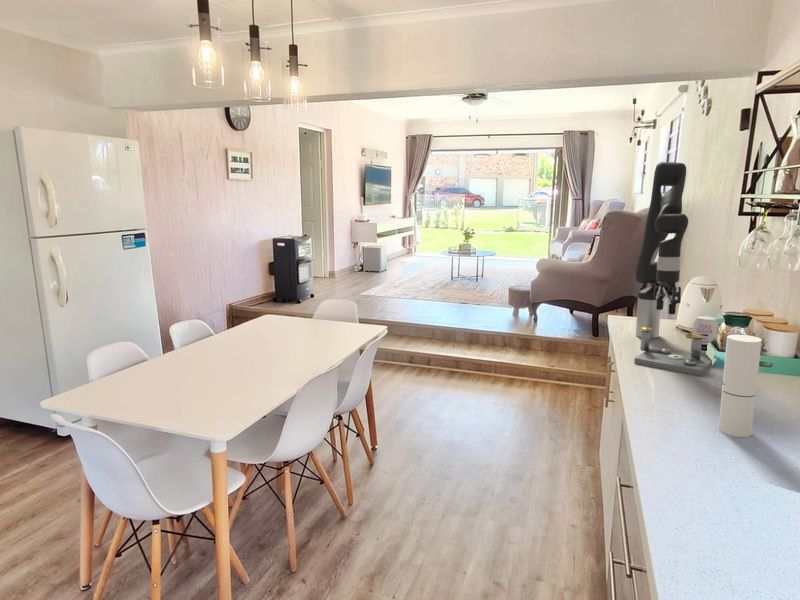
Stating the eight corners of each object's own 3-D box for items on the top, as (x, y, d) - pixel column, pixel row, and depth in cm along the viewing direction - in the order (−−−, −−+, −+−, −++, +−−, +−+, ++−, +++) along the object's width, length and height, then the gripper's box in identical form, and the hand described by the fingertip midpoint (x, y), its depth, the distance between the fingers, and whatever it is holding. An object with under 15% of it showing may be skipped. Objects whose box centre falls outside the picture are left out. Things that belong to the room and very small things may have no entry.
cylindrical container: (746, 426, 130) (756, 335, 126) (755, 438, 124) (766, 342, 119) (715, 423, 133) (723, 333, 128) (722, 435, 126) (732, 341, 121)
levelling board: (653, 351, 197) (653, 345, 197) (716, 362, 182) (717, 355, 182) (634, 363, 184) (634, 356, 183) (700, 376, 168) (701, 369, 168)
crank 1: (670, 351, 190) (671, 328, 188) (671, 354, 186) (672, 330, 184) (639, 349, 194) (640, 326, 192) (639, 351, 190) (641, 328, 189)
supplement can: (708, 352, 194) (711, 315, 191) (719, 358, 186) (723, 320, 183) (686, 352, 195) (689, 315, 192) (697, 358, 187) (700, 320, 184)
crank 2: (694, 366, 172) (696, 341, 170) (681, 364, 175) (683, 339, 173) (703, 359, 179) (705, 335, 178) (690, 357, 182) (692, 333, 181)
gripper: (689, 270, 174) (686, 315, 177) (668, 266, 188) (665, 307, 191) (668, 271, 174) (665, 316, 177) (648, 267, 188) (646, 308, 191)
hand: (665, 311), depth 184 cm, fingers open, 8 cm apart
